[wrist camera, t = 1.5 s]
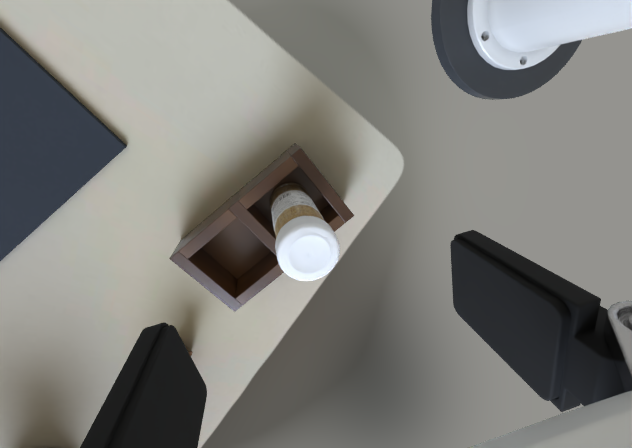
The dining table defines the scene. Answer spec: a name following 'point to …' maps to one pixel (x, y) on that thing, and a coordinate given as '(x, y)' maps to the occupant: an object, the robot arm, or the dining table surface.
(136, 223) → the dining table surface
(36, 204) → the table mat
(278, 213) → the sprinkles bottle
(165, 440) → the robot arm
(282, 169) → the spice rack
